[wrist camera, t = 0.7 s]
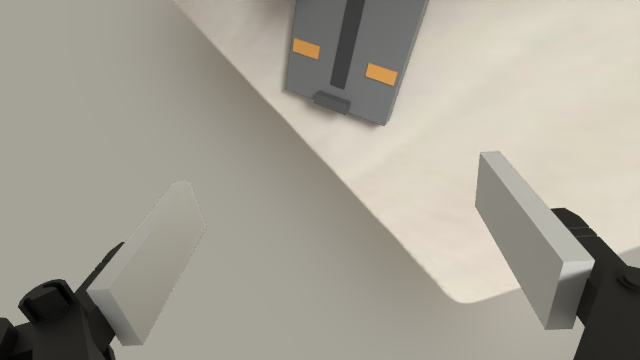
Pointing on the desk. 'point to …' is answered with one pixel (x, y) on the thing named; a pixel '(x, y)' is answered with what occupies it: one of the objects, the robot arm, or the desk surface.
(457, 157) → the desk surface
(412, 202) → the desk surface
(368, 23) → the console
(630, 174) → the desk surface
